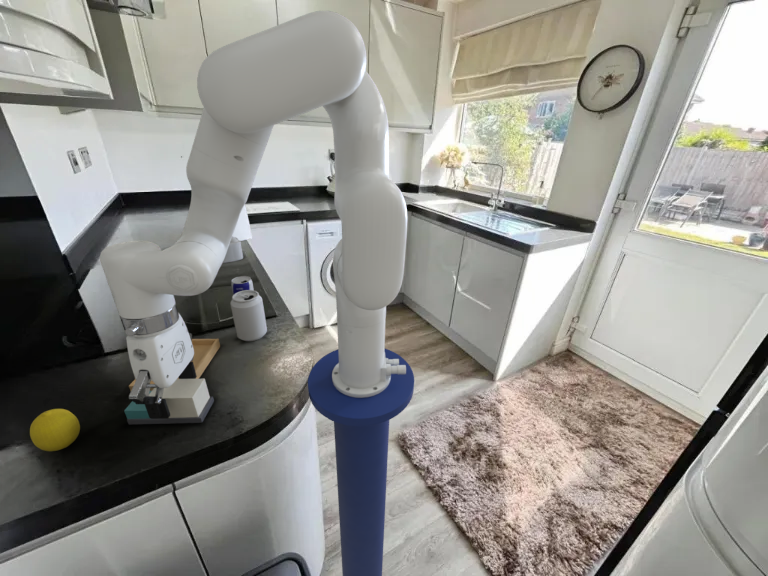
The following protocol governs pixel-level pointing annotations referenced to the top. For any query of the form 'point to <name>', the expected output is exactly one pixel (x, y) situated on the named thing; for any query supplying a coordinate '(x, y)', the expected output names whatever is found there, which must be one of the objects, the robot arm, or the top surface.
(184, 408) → the sneaker
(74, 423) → the lemon
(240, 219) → the milk
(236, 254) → the lumpy-topped squat cylinder
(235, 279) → the energy drink
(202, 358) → the wooden tray
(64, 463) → the top surface
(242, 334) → the can
